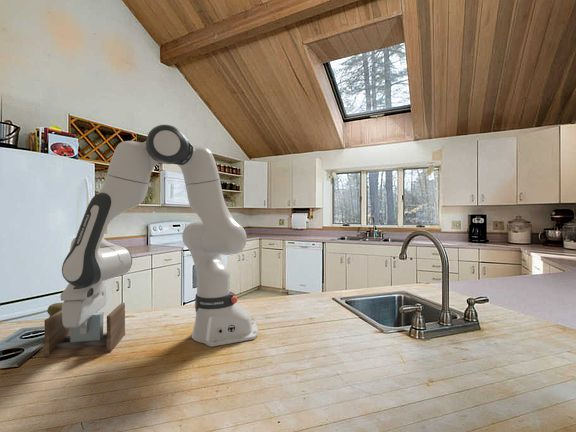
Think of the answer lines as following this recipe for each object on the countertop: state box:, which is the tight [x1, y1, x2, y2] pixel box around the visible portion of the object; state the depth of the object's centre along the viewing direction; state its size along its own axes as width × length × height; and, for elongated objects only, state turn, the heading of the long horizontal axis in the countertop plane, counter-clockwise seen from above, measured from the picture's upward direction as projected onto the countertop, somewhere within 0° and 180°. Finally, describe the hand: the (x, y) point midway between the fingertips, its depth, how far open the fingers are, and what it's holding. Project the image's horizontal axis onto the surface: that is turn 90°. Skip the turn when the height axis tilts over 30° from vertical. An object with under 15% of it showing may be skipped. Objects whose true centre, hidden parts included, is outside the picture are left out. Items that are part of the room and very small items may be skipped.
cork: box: [46, 302, 63, 317], centre depth 94 cm, size 6×6×11 cm
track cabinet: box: [44, 302, 126, 359], centre depth 88 cm, size 17×12×11 cm
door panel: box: [70, 311, 105, 342], centre depth 88 cm, size 8×2×8 cm, turn 102°
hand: (87, 330), depth 88 cm, fingers closed on door panel, 3 cm apart
